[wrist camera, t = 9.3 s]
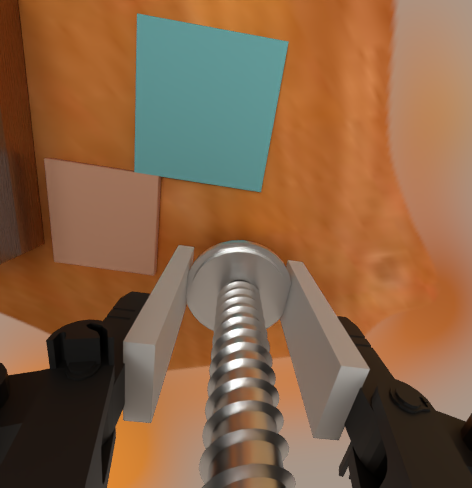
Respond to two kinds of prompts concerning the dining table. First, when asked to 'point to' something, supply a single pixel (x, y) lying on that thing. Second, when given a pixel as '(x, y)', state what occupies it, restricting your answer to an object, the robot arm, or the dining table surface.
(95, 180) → the terracotta pad
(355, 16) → the dining table surface
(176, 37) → the teal pad
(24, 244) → the grey unit
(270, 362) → the screw
